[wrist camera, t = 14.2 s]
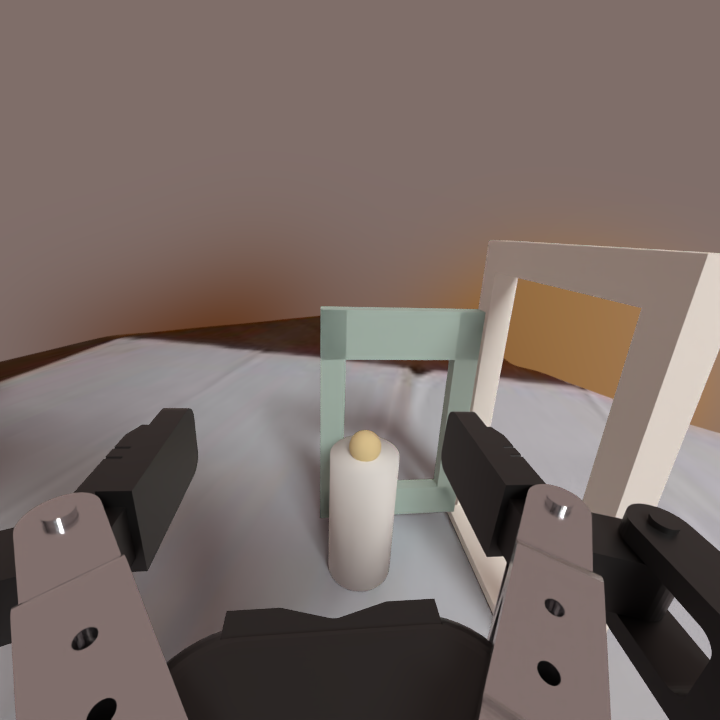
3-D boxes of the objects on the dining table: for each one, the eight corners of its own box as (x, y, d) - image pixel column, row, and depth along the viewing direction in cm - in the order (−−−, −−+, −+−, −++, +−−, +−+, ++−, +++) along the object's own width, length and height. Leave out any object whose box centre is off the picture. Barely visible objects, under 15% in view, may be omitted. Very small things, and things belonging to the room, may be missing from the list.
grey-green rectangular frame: (444, 492, 38) (472, 305, 31) (453, 511, 35) (485, 312, 28) (320, 497, 36) (320, 302, 30) (320, 517, 34) (320, 309, 27)
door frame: (534, 705, 22) (683, 252, 13) (440, 498, 39) (477, 239, 30) (594, 698, 22) (780, 256, 13) (476, 496, 39) (523, 241, 30)
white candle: (329, 593, 28) (331, 454, 24) (327, 539, 33) (329, 415, 28) (394, 589, 29) (408, 452, 24) (383, 536, 33) (393, 414, 29)
